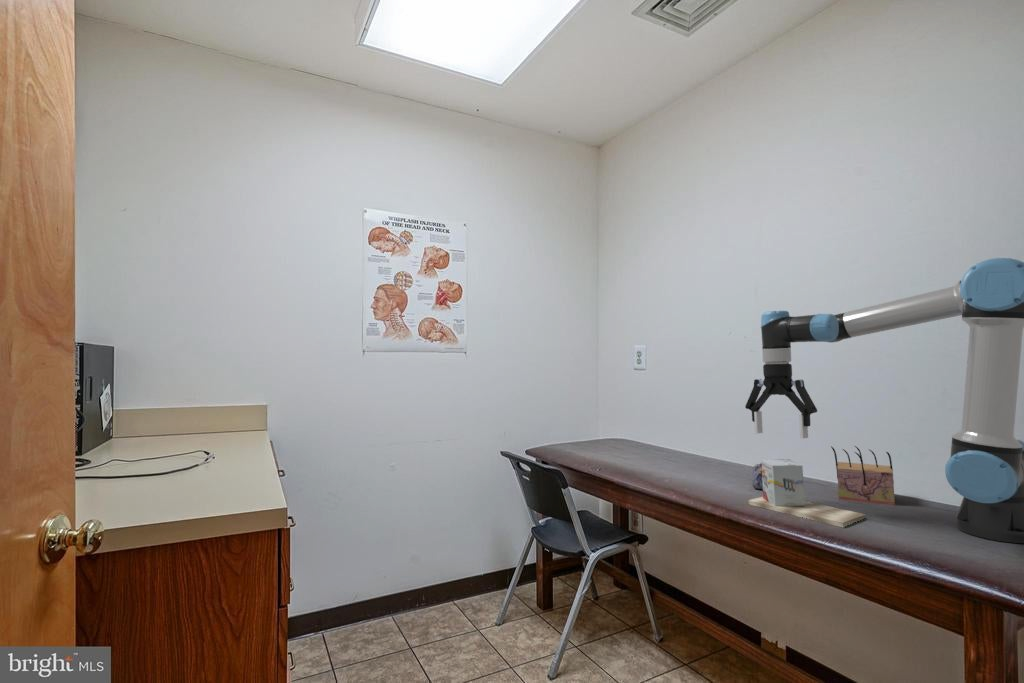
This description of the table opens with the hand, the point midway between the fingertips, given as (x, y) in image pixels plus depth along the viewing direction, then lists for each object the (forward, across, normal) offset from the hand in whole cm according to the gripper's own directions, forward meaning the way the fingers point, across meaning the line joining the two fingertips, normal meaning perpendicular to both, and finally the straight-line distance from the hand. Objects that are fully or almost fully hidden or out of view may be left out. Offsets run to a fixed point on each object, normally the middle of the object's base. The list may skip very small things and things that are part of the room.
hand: (780, 435), depth 148 cm
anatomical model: (+21, -9, -28) cm, 36 cm away
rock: (+21, +15, -16) cm, 30 cm away
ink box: (+20, 0, 0) cm, 20 cm away
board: (+21, -6, 0) cm, 21 cm away
